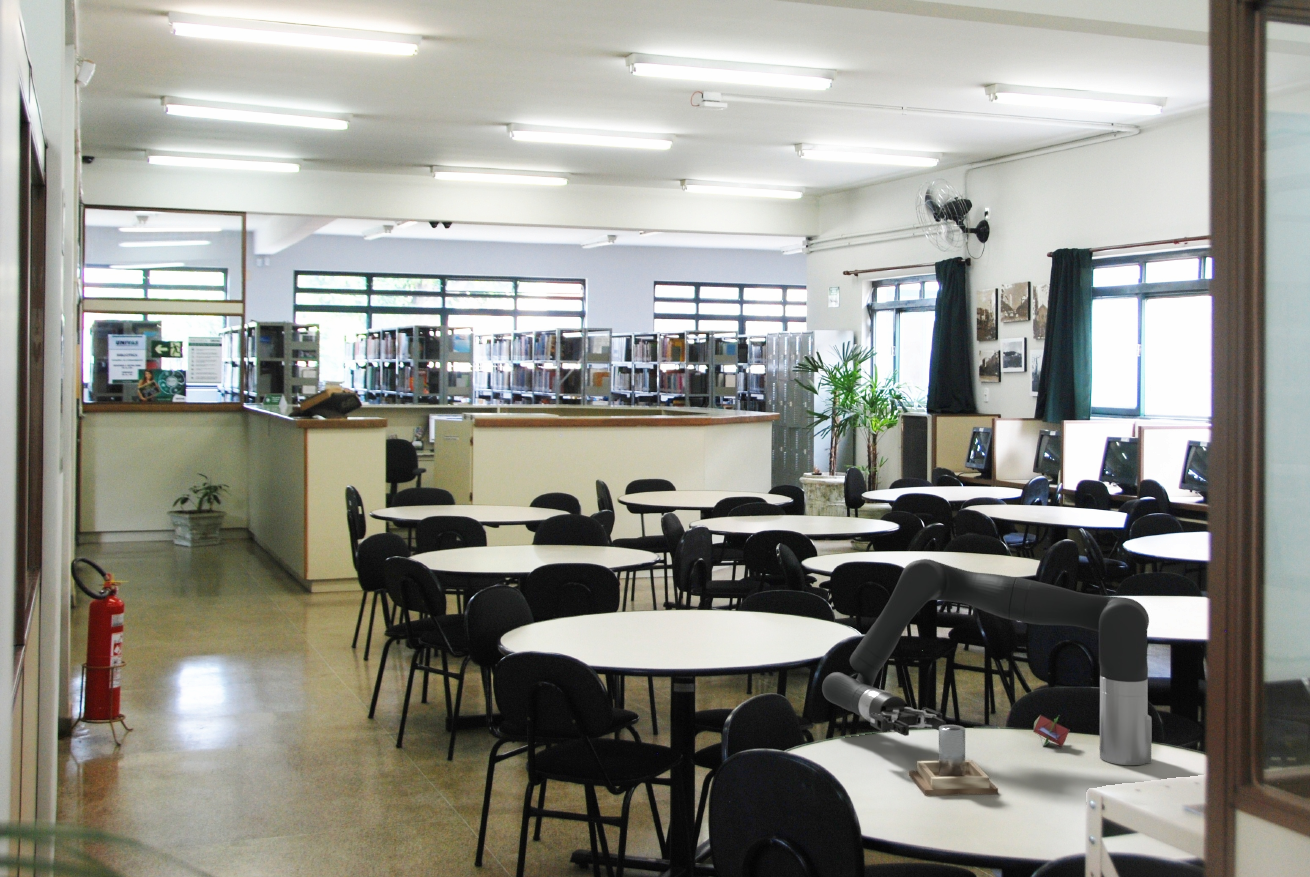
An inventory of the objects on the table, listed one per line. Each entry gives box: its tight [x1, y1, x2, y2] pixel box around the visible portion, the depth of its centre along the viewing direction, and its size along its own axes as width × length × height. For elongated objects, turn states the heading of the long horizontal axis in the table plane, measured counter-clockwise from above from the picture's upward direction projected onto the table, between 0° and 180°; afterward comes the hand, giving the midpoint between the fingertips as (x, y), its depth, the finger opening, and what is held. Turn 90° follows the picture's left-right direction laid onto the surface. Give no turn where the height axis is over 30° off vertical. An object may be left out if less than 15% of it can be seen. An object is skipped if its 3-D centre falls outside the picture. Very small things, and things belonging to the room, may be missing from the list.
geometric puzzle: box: [1033, 714, 1071, 748], centre depth 255 cm, size 7×7×8 cm
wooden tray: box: [908, 759, 999, 796], centre depth 229 cm, size 14×12×3 cm
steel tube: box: [938, 724, 966, 777], centre depth 229 cm, size 5×5×10 cm
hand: (925, 728), depth 238 cm, fingers open, 8 cm apart
